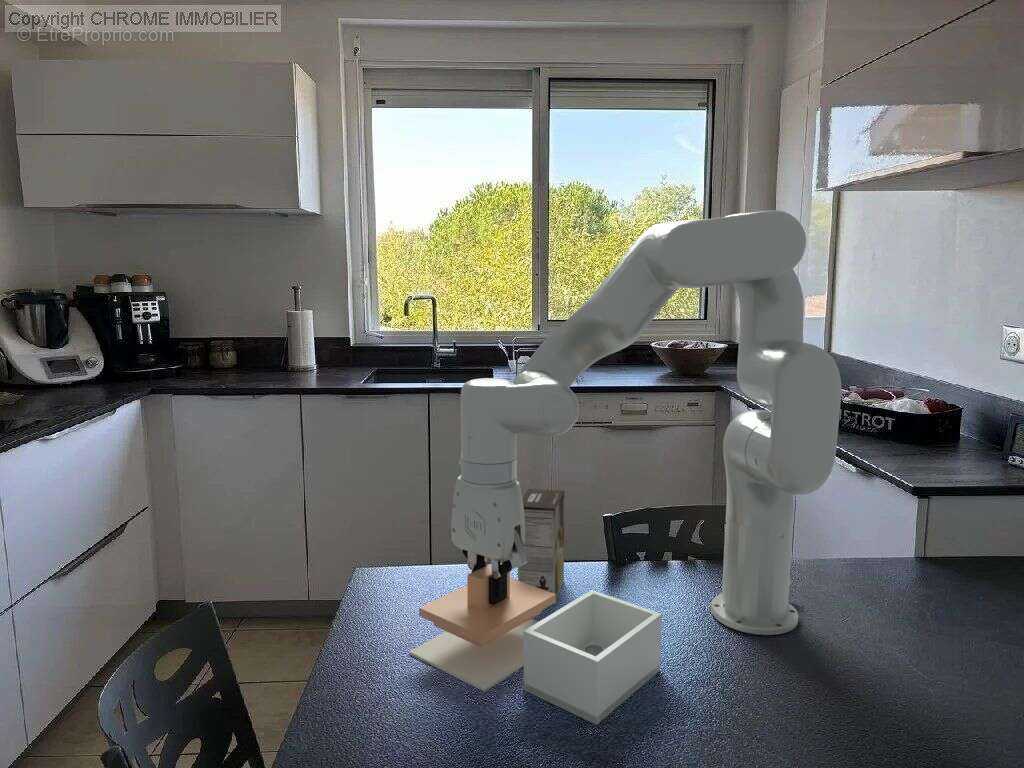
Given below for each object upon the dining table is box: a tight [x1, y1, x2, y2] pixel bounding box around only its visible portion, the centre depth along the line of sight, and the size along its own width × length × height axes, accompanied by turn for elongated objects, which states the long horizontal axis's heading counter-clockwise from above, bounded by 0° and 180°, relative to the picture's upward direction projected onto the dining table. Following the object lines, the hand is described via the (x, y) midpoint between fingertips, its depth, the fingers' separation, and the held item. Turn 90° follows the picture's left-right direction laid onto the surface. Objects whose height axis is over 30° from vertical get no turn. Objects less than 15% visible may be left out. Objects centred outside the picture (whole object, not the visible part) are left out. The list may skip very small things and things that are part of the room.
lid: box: [418, 562, 557, 647], centre depth 102 cm, size 16×12×7 cm
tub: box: [523, 589, 663, 726], centre depth 94 cm, size 15×11×8 cm
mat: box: [408, 618, 539, 693], centre depth 103 cm, size 18×14×1 cm
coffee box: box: [517, 488, 565, 605], centre depth 119 cm, size 9×6×16 cm
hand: (489, 596), depth 102 cm, fingers closed on lid, 2 cm apart
